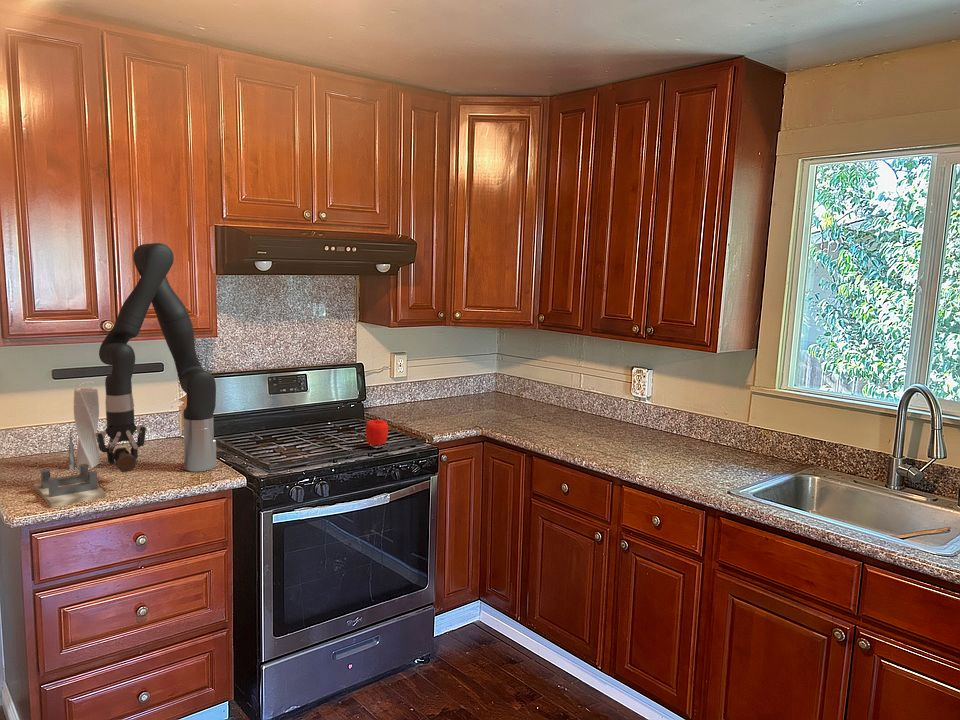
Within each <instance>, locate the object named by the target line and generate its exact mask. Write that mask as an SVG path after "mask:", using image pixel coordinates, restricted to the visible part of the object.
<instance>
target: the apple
mask: <svg viewBox="0 0 960 720" xmlns="http://www.w3.org/2000/svg"><path fill="white" fill-rule="evenodd" d="M364 430H365V431H364V432H365V433H364V434H365V438H366V441H367V444H368V445H369V444H371V445H381V444H385V445H386V443H387V440H388V435H389V423H388V422H386V420H383V419H374V420H373V419H372V420H369V421H368V422H366V425H365V429H364Z"/></svg>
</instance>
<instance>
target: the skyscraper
mask: <svg viewBox="0 0 960 720" xmlns="http://www.w3.org/2000/svg"><path fill="white" fill-rule="evenodd" d="M86 384H91V386H90V387H87V386H86V387H80V386H82V385H86ZM94 384H95V382H94V381H84V382H81V383H79V384H78V385H76V387H75V388H74V390H73V419H74V424H75V429H76V433H77V437H78V439H77V449H76V450H77V452H76V458H75V451H74V449H75V444H73V436H72V431H69V444H68V458H67V459H68V463H69V464H68V469H75V467H76V468H77V469H78V470H77V471H79V465H81V464H87V465H88V468H93V467H94V466H96V465H98V464H100V463H101V458H100V457H101V455H100V449H99V445H98V442H97V438H96V435H95V434H96V433H97V432H98V426H99V419H100V402H99V401H100V399H99V393H98V389H96V388H93V387H94ZM79 387H80V389H78V388H79ZM75 460H76V464H75ZM75 465H76V466H75ZM100 465H101V464H100ZM98 466H99V465H98ZM93 469H94V468H93Z"/></svg>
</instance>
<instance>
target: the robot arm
mask: <svg viewBox="0 0 960 720" xmlns="http://www.w3.org/2000/svg"><path fill="white" fill-rule="evenodd" d="M173 252H174V251H173V250H172V249H171V248H170V247H169V246H168V245H167V244H165V243H160V242H153V243H152V242H151V243H142V244H139V245H138V246H137V247H136V248H135V250H134V252H133V255H132V257H133V259H132V260H133V263H134V267H135V269H136V271H137V272H138V275H139V279H138V281H137V284H136V285H135V286H134V288H133V289H132V291H131V292H130V293H129V295H128V296H127V297H126V298H125V301H124V302H123V304H122V306H121V307H120V310H119V312H118V315H117V317H116V320H115V322H114V325H113V327H112V328H111V329H110V331H109V332H108V333H107V334H106V337H105V338H104V340H103V341H102V343H101V344H100V347H99V351H98V357H99V360H100V361H101V362H102V363H103V364H105V365H109V366H112V367H111V368H112V369H111V374H108V375H107V376H106V377H105V381H104V383H105V385H104V386H105V387H104V388H105V418H106V419H105V420H106V428H105V430H103V431H100V432H99V431H96V434H95V435H96V438H97V444H98V450H99V451H101V452H102V453H106V457H107V460H106V461H107V463H109V464H110V465H111V466H115V463H116V461H115V459H114V451H115V448H116V447H117V444H118V443H121V442H128V443H129V445H130V447H131V448H130V453H131V454H132V455H133V457H134V458H135V459H136V460H138V457H139V453H138V451H139V450H138V449H139V448H140V447H143V446H144V445H145V439H146V432H147V427H145V426H144V425H140V426H138V425H136V424H135V422H136V421H135V408H134V407H135V403H134V398H133V387H132V377H133V374H134V369H135V364H136V354H135V351H134V349H133V347H132V346H131V345H130V344H128V342H129V341H130V340H131V339H134V338H135V339H136V338H137V337H138V336H139V334H140V331H141V328H142V326H143V324H144V321H145V319H146V315H147V313H148V311H149V309H150V306H151V305H152V307H153V309H154V313H155V315H156V318H157V322H158V324H159V327H160V330H161V332H162V335H163V338H164V339H165V342H166V346H167V348H168V349H169V352H170V353H171V356H172V359H173V361H174V365H175V369H176V373H177V377H178V381H179V385H180V388H181V389H182V391H183V392H184V393H185V394H186V407H185V408H184V409H183V412H182V415H183V416H182V417H183V467H184V468H183V469H184V471H188V472H205V471H209V470H212V469H215V468H217V440H216V439H215V437H214V433H215V431H214V427H215V425H214V412H215V409H216V402H217V399H216V398H217V383H216V379H215V377H214V376H213V374H212V373H211V372H208V371H207V370H204V368H203V366H202V363H201V361H200V360H199V357H198V354H197V352H196V345H195V331H194V326H193V323H192V320H191V318H190V315H189V312H188V310H187V308H186V305H185V304H184V303H183V301H182V300H181V299H180V297H179V295H177V293H176V292H175V291H174V289H173V288H172V287H171V285H170V282H169V280H168V277H167V275H168V274H169V272H170V270H171V268H172V267H173V264H174V261H175V260H174V259H175V257H174V253H173ZM136 432H137V442H136V440H135V438H134V437H133V435H134V434H135V433H136ZM106 435H107V436H108V437H109V440H108V443H107V446H106V444H105V439H106Z"/></svg>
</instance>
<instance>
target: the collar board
mask: <svg viewBox="0 0 960 720" xmlns="http://www.w3.org/2000/svg"><path fill="white" fill-rule="evenodd" d="M81 483H85V482H81ZM75 484H79V483H75ZM69 485H73V484H69ZM63 486H67V485H63ZM58 487H61V486H58ZM33 489H34V490H35V491H36V493H38V495H39V496H40V497H41V498H42V500H43V501H44V500H45V501H44V502H45V503H46V504H47V505H48V506H49V508H55V507H63V506H69V505H72V504H73V503H74V504H78V502H79V503H83V501H85V502H89V501H88V500H90V501H93V500H92V499H96V500H99V499H98V498H101V499H103V498H102V497H106V498H107V492H106V491H105V490H104V489H103V488H101V487H100V486H99V485H98V489H96V490H90V491H84V492H78V493H73V494H67V495H61V496H55V497H50V496H49V488H45V489H43V488H42V487H41V482H36V483H33Z"/></svg>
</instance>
